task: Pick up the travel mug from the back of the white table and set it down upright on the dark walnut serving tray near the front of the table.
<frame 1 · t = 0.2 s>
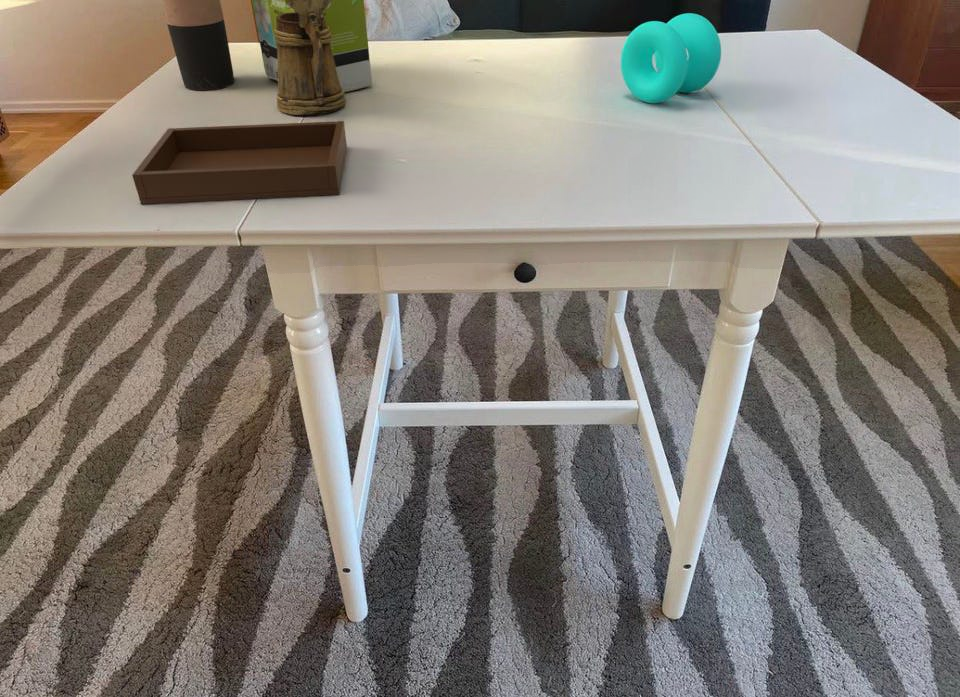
wooden mug: (316, 112, 96), on the table, touching tea box
donuts: (665, 98, 99), on the table
tea box: (318, 84, 106), on the table, touching wooden mug
serving tray: (252, 173, 78), on the table
travel mug: (210, 85, 107), on the table
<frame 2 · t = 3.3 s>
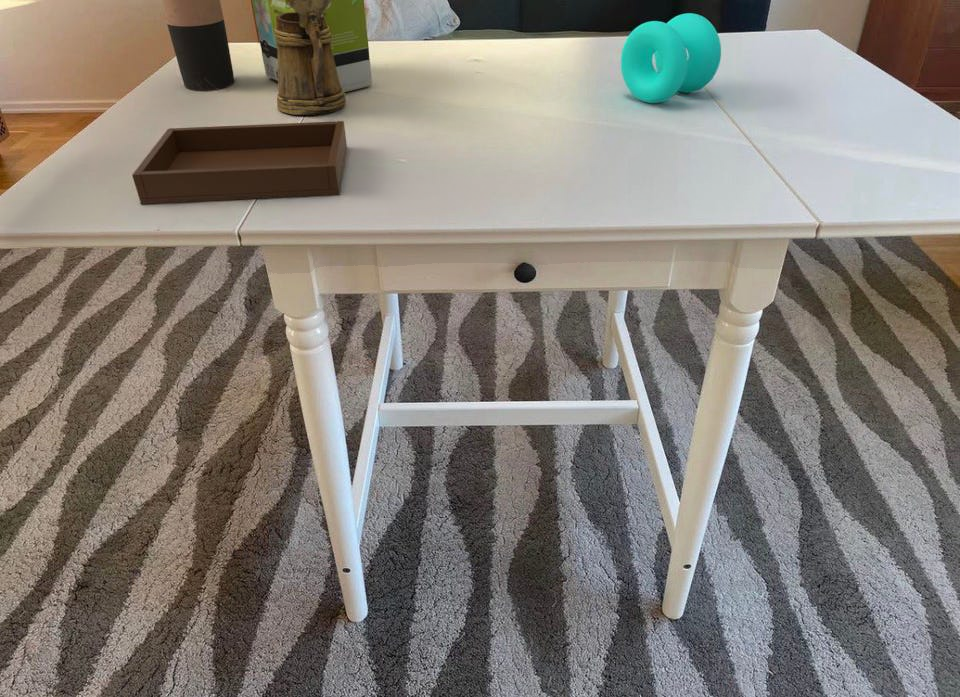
nothing on the table moved.
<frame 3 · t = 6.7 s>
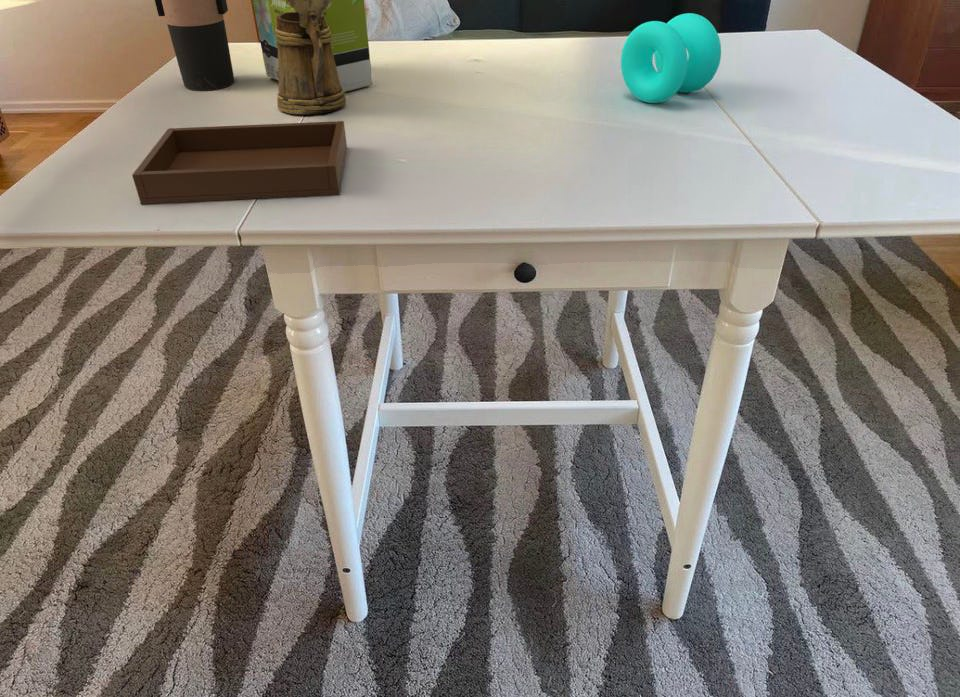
hand: (193, 13, 101), 10 cm above the table, tool pointing down, fingers closed on travel mug, 7 cm apart
travel mug: (210, 85, 107), on the table, touching gripper
everything else where it was.
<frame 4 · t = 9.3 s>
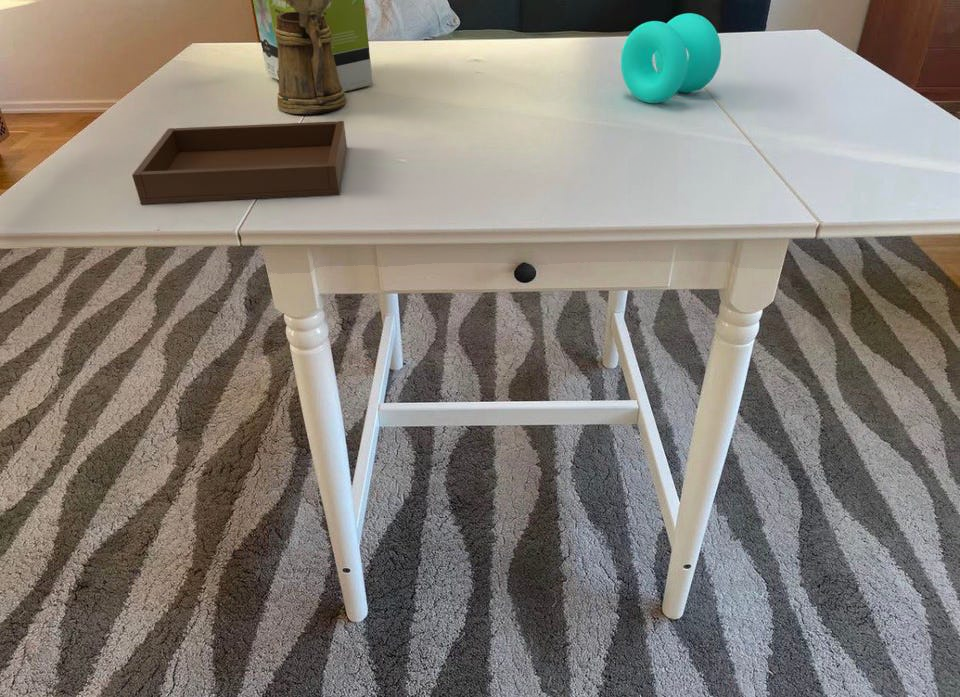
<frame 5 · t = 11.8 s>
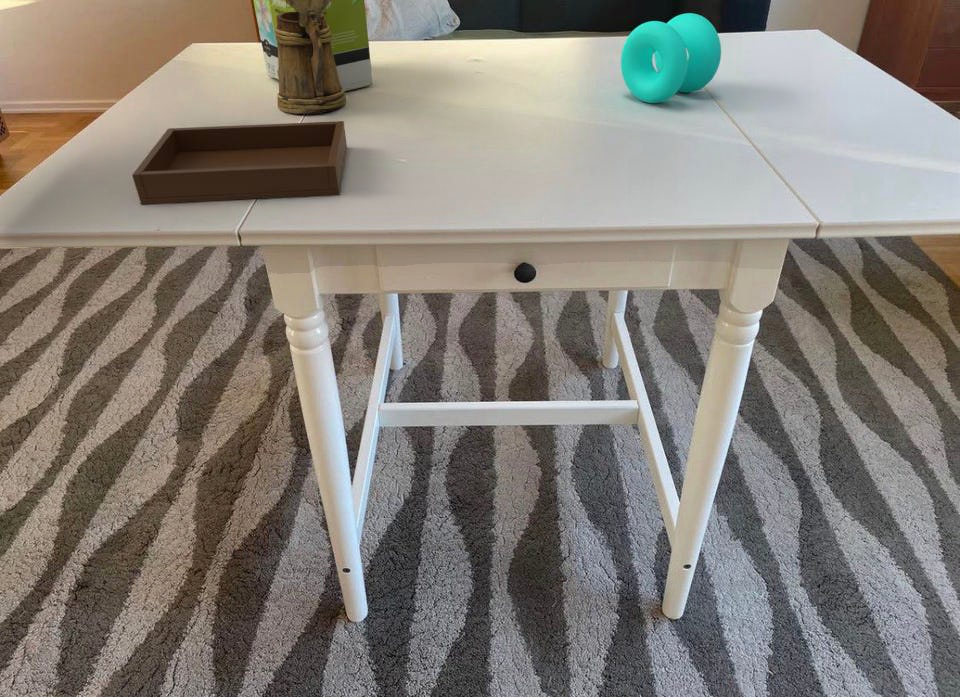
tea box: (319, 83, 107), on the table, touching wooden mug
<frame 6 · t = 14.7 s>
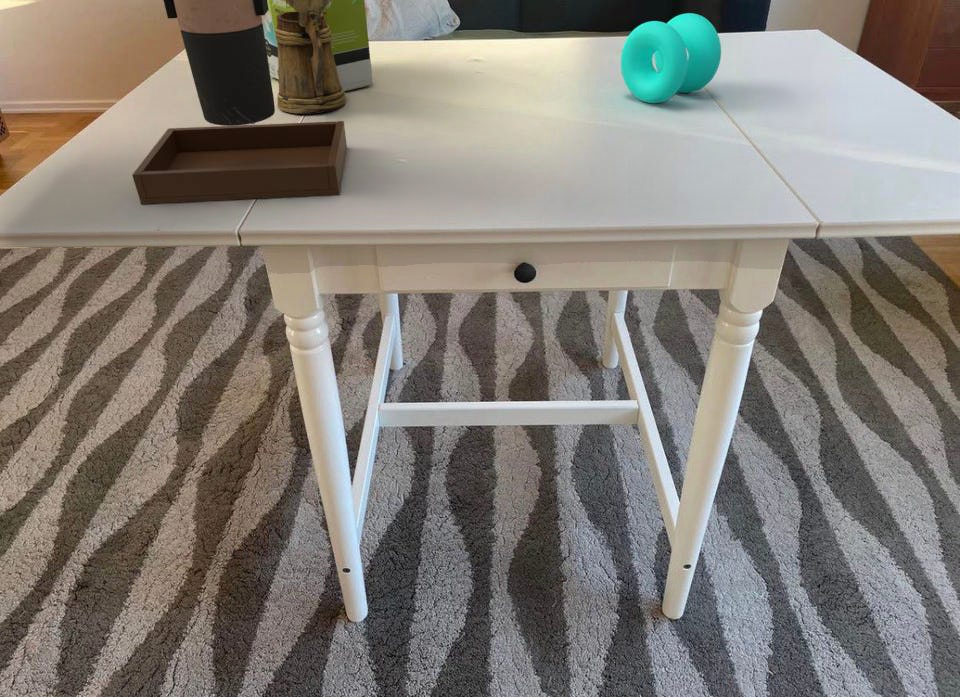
hand: (219, 13, 69), 16 cm above the table, tool pointing down, fingers closed on travel mug, 7 cm apart
travel mug: (240, 116, 75), point 6 cm above the table, touching gripper
everything else where it was.
when the fingers open (10 cm above the table, at t = 16.8 s): travel mug stays where it is, resting on serving tray.
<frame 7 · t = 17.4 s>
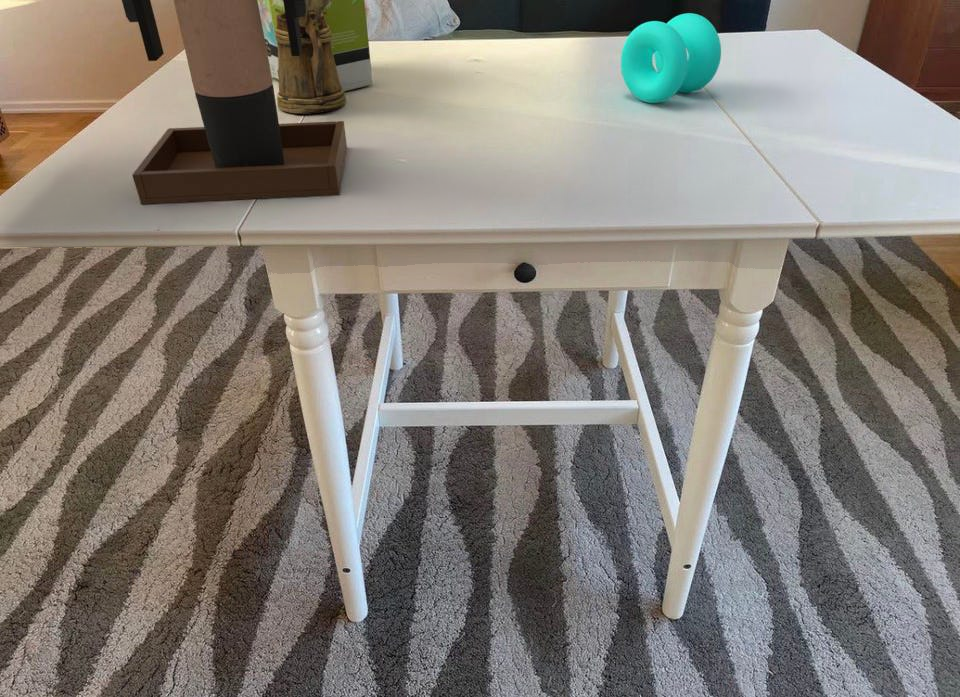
hand: (227, 55, 71), 12 cm above the table, tool pointing down, fingers open, 13 cm apart
travel mug: (251, 169, 78), resting on serving tray
everything else where it was.
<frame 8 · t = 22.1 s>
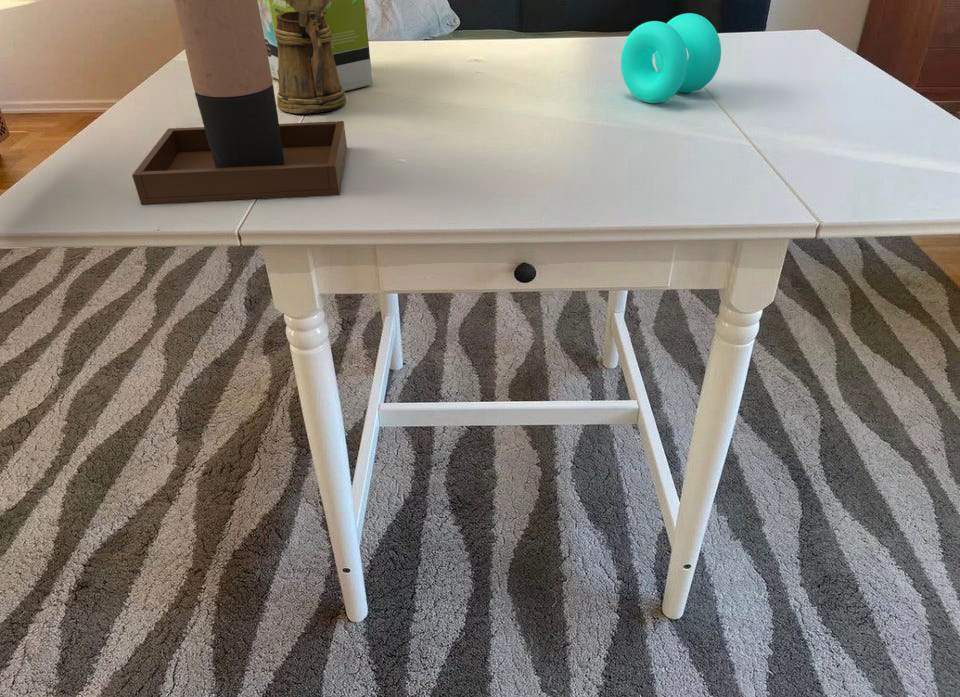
nothing on the table moved.
at the end: travel mug inside the target area in the serving tray (0.0 cm from its centre), point 0.4 cm above the serving tray's base; travel mug tilted 0°; the gripper is holding nothing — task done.
